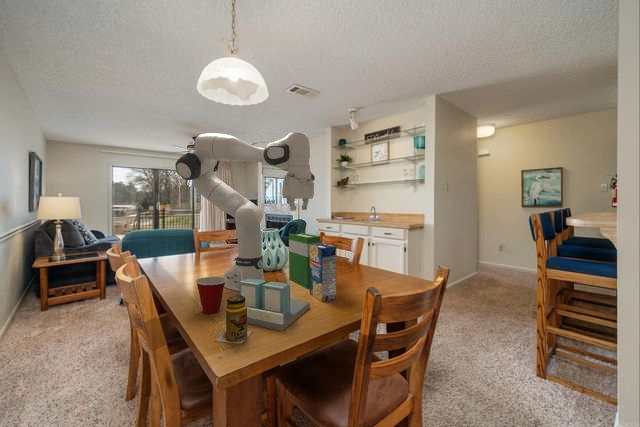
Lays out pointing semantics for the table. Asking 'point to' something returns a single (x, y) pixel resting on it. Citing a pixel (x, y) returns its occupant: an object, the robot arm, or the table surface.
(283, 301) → the carton
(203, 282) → the plastic cup
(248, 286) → the carton
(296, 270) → the hardback book
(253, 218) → the robot arm
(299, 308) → the shelf board
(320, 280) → the beverage box
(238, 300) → the condiment
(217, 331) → the table surface
